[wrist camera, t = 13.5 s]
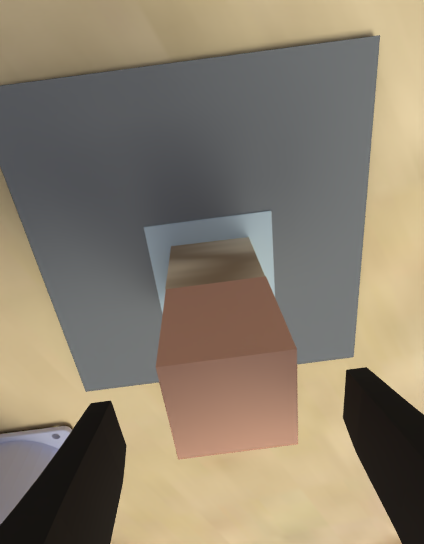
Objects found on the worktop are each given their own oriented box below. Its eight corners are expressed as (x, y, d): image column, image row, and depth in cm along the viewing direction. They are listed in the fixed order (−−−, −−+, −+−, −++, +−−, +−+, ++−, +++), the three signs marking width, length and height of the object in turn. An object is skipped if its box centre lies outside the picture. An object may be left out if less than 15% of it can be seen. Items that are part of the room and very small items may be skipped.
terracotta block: (181, 366, 16) (178, 459, 12) (166, 289, 14) (155, 367, 10) (270, 355, 16) (297, 444, 12) (266, 276, 14) (296, 348, 10)
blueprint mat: (88, 385, 22) (85, 392, 22) (-23, 89, 15) (-31, 89, 14) (350, 351, 22) (354, 358, 22) (374, 37, 15) (381, 35, 14)
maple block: (182, 311, 20) (180, 366, 16) (171, 246, 18) (165, 288, 14) (252, 303, 20) (268, 355, 16) (248, 237, 18) (265, 277, 14)
